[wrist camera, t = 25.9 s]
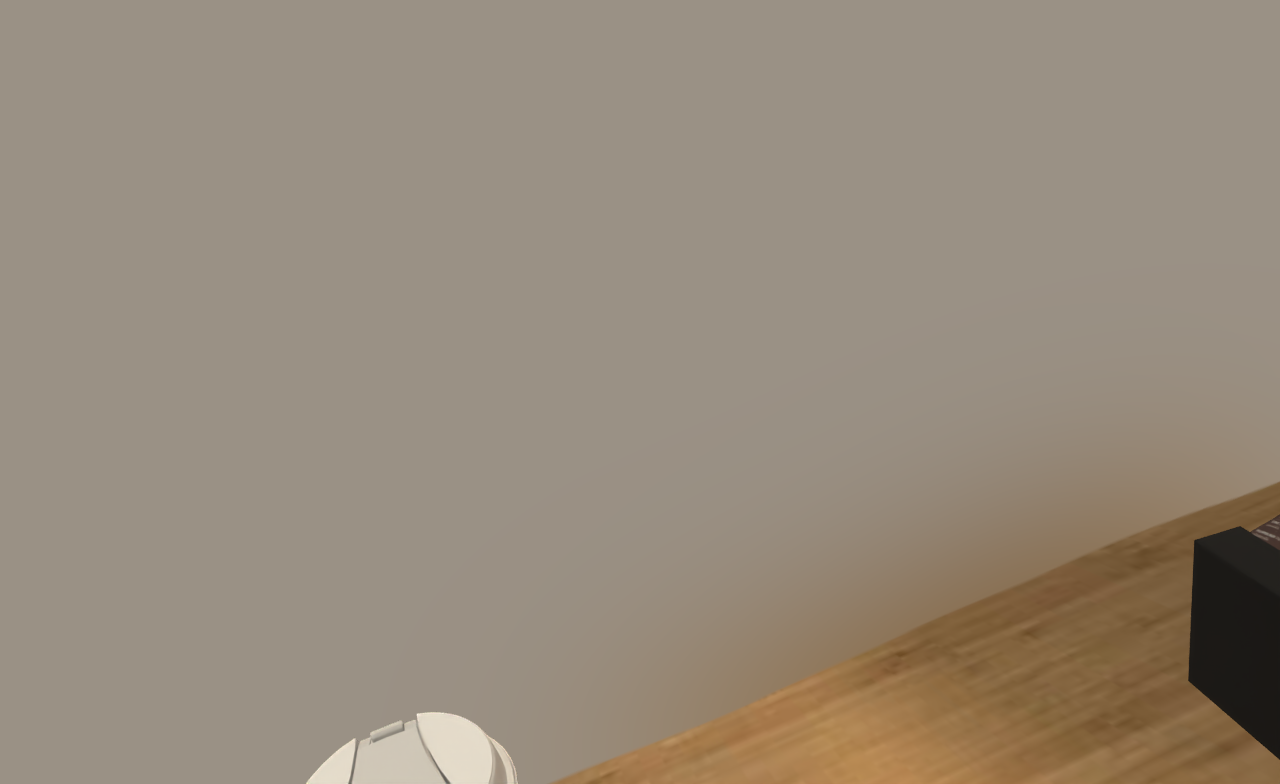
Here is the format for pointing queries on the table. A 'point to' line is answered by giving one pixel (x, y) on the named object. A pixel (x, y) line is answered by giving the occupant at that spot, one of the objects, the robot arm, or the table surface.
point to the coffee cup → (421, 755)
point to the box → (1269, 532)
